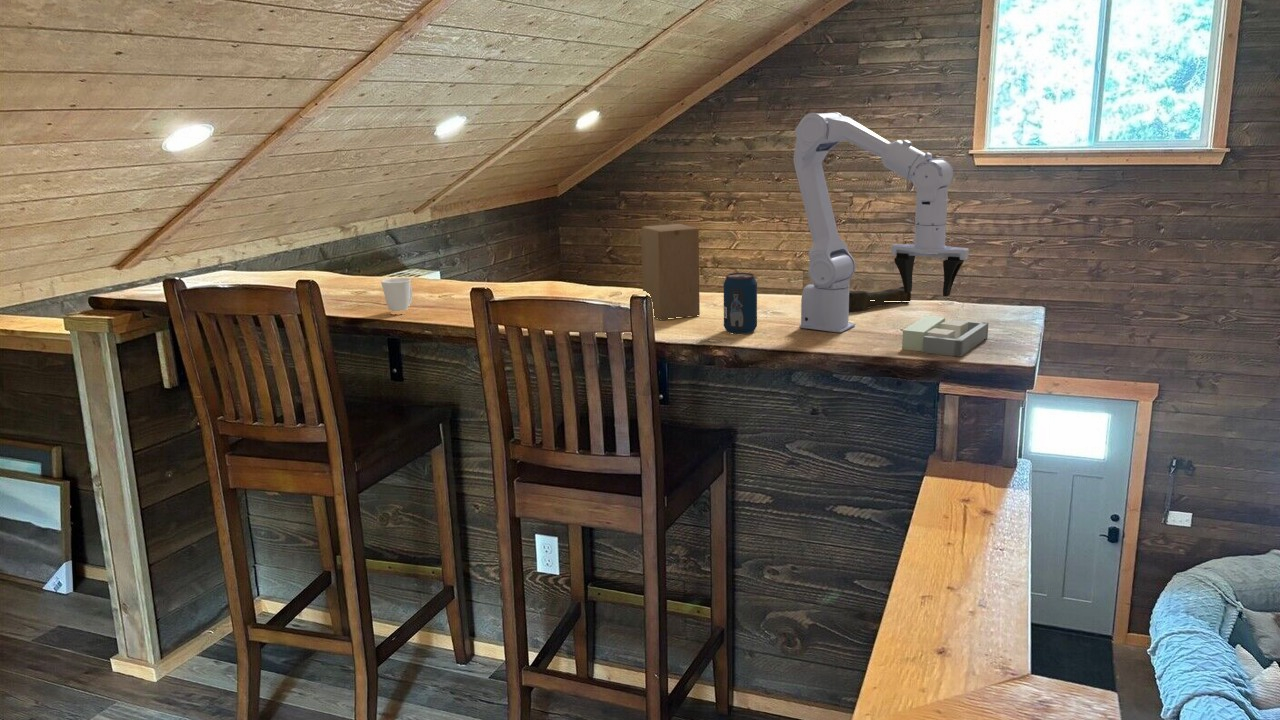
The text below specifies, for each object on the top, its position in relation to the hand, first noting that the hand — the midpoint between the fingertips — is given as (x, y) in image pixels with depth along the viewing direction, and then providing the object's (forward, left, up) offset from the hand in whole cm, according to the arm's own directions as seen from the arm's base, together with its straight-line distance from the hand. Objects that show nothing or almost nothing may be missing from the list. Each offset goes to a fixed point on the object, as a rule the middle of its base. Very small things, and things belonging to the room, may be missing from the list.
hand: (927, 293), depth 187 cm
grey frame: (+6, -1, -9) cm, 11 cm away
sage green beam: (0, -1, -10) cm, 10 cm away
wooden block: (-58, -4, -10) cm, 59 cm away
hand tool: (-20, +25, -10) cm, 34 cm away
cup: (-117, -32, -10) cm, 121 cm away
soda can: (-36, -11, -10) cm, 38 cm away
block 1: (+5, -5, -10) cm, 12 cm away
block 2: (+5, +3, -10) cm, 11 cm away
